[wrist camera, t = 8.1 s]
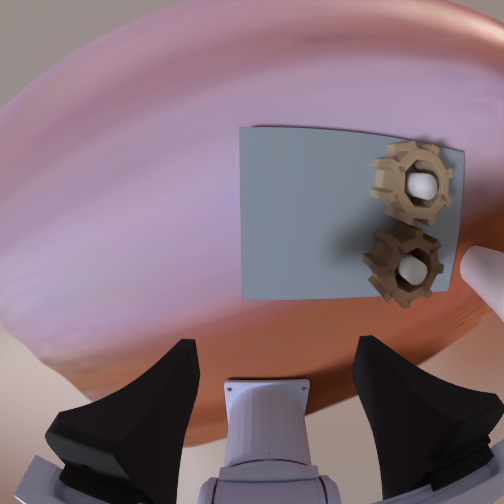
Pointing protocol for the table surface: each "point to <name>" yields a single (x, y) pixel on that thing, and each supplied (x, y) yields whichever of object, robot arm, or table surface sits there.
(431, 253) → the walnut gear
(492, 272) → the smoothie
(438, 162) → the beech gear
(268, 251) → the gear board
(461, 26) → the table surface
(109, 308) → the table surface
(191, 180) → the table surface
